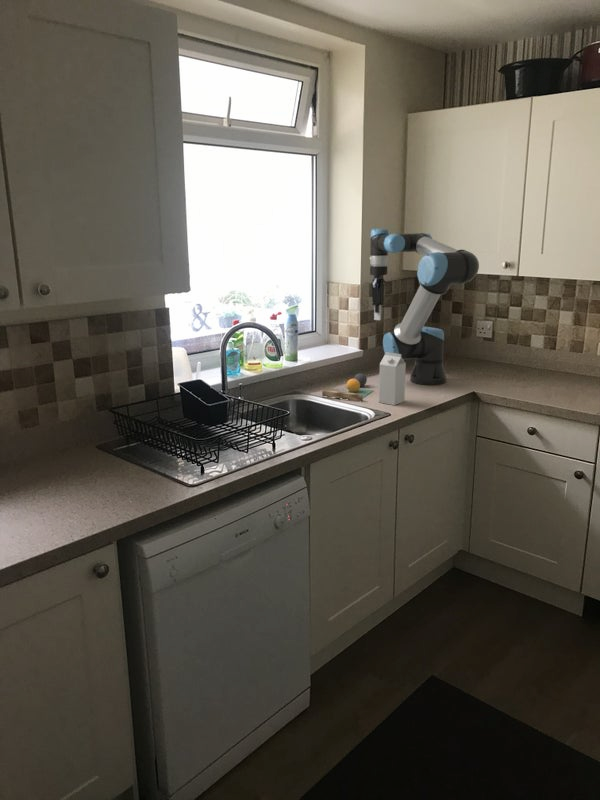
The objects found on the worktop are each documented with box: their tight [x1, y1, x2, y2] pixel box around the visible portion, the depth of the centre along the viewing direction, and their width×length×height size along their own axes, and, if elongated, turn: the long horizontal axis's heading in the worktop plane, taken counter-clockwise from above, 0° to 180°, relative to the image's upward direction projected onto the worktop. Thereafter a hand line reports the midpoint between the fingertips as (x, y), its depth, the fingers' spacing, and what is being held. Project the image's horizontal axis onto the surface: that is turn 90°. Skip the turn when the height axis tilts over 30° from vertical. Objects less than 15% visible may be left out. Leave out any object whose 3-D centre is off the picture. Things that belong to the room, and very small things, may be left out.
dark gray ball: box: [353, 372, 368, 388], centre depth 273 cm, size 6×6×6 cm
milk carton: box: [378, 352, 407, 406], centre depth 247 cm, size 7×7×19 cm
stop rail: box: [321, 389, 364, 402], centre depth 255 cm, size 16×2×2 cm, turn 65°
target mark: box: [348, 388, 374, 399], centre depth 263 cm, size 14×14×1 cm
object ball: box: [345, 378, 361, 392], centre depth 264 cm, size 6×6×6 cm
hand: (377, 319), depth 290 cm, fingers closed
